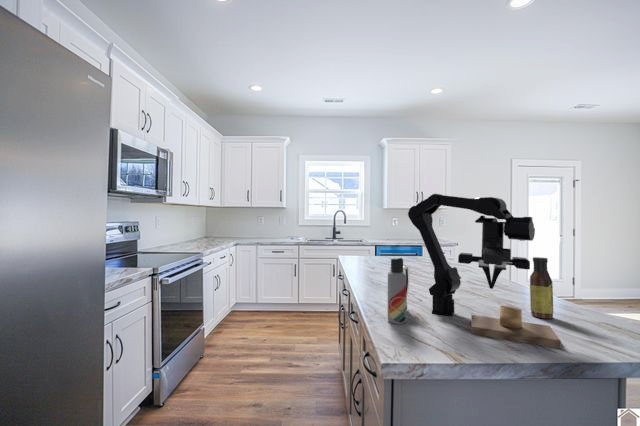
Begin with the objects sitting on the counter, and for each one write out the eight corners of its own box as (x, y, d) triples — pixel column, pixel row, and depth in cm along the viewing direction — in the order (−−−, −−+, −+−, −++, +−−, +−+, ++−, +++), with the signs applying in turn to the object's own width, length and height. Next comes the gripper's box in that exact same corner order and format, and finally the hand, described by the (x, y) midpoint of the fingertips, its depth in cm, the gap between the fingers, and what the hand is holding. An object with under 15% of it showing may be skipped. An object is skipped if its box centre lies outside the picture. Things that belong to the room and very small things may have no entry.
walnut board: (471, 333, 83) (471, 326, 84) (471, 321, 94) (471, 314, 94) (560, 348, 74) (560, 340, 74) (549, 332, 85) (549, 325, 85)
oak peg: (500, 333, 83) (500, 309, 83) (499, 327, 88) (499, 304, 88) (523, 337, 81) (523, 312, 81) (520, 331, 85) (520, 307, 86)
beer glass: (411, 308, 107) (411, 267, 107) (406, 313, 101) (406, 269, 101) (393, 305, 110) (393, 265, 111) (386, 310, 104) (386, 267, 105)
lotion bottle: (403, 325, 89) (403, 259, 90) (384, 322, 92) (385, 257, 93) (408, 320, 94) (408, 257, 95) (390, 317, 97) (391, 256, 98)
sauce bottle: (557, 320, 96) (557, 259, 96) (536, 319, 97) (535, 258, 98) (546, 314, 102) (546, 256, 103) (526, 312, 103) (526, 256, 104)
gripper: (457, 237, 89) (456, 289, 89) (533, 241, 80) (532, 299, 80) (459, 235, 99) (458, 282, 98) (527, 239, 90) (526, 290, 90)
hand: (491, 288), depth 91 cm, fingers closed
